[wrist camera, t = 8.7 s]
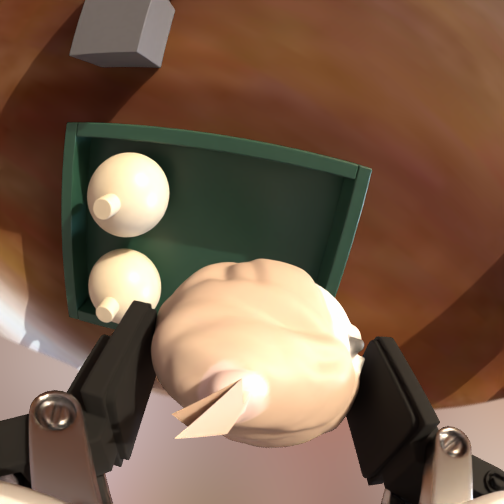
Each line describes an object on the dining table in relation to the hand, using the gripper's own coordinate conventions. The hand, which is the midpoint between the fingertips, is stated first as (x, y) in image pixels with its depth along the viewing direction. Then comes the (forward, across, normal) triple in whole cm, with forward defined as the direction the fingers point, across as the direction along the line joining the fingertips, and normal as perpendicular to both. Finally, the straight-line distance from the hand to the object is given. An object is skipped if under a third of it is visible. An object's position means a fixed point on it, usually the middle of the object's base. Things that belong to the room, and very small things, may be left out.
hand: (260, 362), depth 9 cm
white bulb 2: (+10, +7, +3) cm, 12 cm away
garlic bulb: (+3, 0, 0) cm, 3 cm away
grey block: (+10, +9, -12) cm, 18 cm away
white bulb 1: (+10, +7, -3) cm, 12 cm away
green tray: (+10, +3, 0) cm, 11 cm away
